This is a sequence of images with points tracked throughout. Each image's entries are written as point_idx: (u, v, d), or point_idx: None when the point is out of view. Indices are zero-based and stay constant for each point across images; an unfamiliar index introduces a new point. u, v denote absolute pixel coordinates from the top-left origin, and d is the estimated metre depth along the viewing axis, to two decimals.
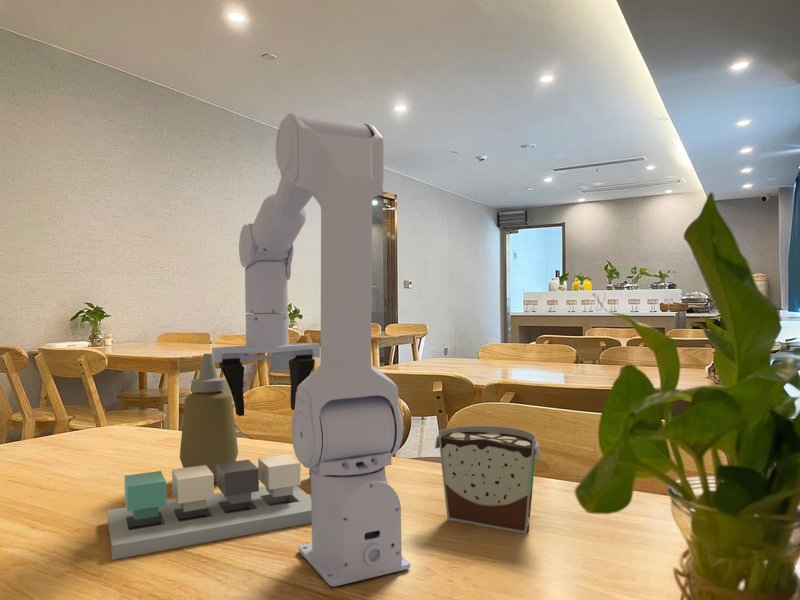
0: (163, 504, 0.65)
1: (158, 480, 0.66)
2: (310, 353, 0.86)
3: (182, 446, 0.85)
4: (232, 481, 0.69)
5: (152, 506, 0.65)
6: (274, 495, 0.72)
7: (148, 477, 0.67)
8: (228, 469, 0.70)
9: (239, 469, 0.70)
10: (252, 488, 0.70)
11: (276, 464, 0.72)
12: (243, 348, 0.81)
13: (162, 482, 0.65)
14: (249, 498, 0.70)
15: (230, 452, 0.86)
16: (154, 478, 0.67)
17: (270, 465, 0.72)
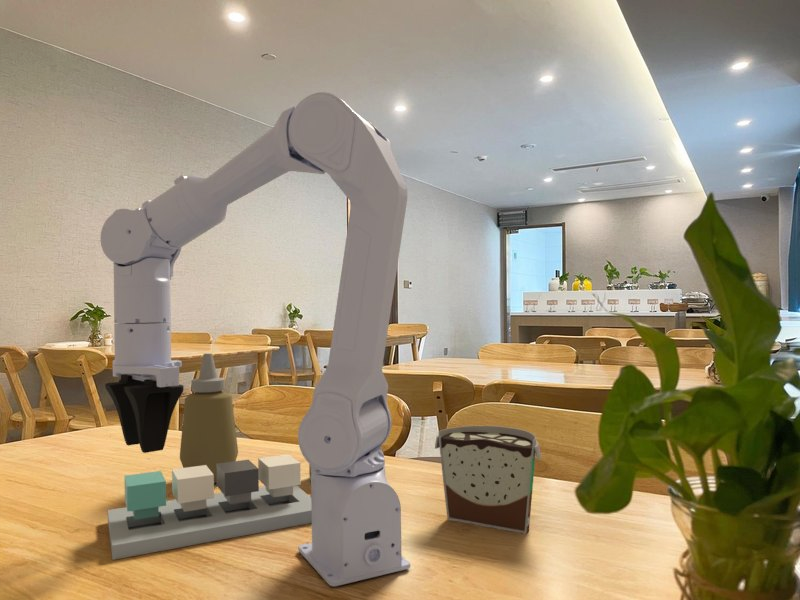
0: (163, 504, 0.65)
1: (158, 480, 0.66)
2: None
3: (182, 446, 0.85)
4: (232, 481, 0.69)
5: (152, 506, 0.65)
6: (274, 495, 0.72)
7: (148, 477, 0.67)
8: (228, 469, 0.70)
9: (239, 469, 0.70)
10: (252, 488, 0.70)
11: (276, 464, 0.72)
12: None
13: (162, 482, 0.65)
14: (249, 498, 0.70)
15: (230, 452, 0.86)
16: (154, 478, 0.67)
17: (270, 465, 0.72)
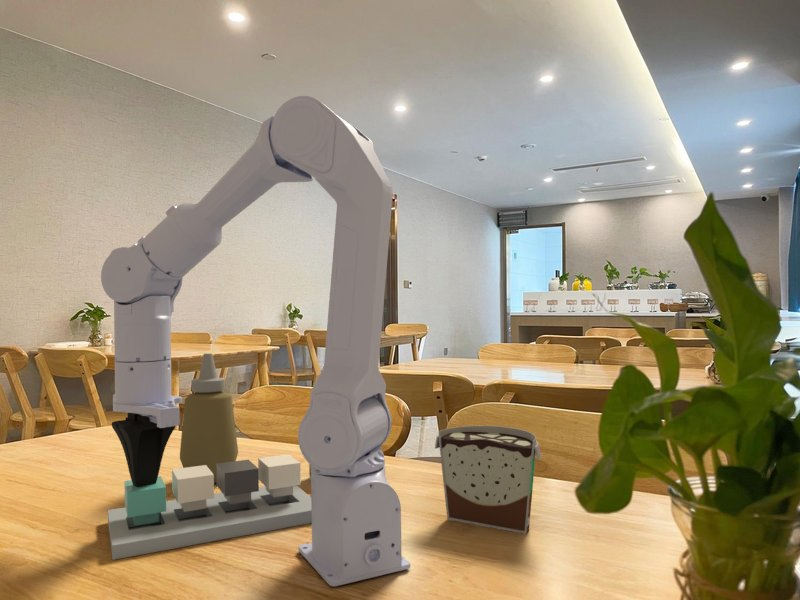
0: (163, 510, 0.65)
1: (158, 486, 0.66)
2: None
3: (182, 446, 0.85)
4: (232, 481, 0.69)
5: (152, 512, 0.65)
6: (274, 495, 0.72)
7: None
8: (228, 469, 0.70)
9: (239, 469, 0.70)
10: (252, 488, 0.70)
11: (276, 464, 0.72)
12: (114, 400, 0.68)
13: (162, 488, 0.65)
14: (249, 498, 0.70)
15: (230, 452, 0.86)
16: (154, 484, 0.67)
17: (270, 465, 0.72)
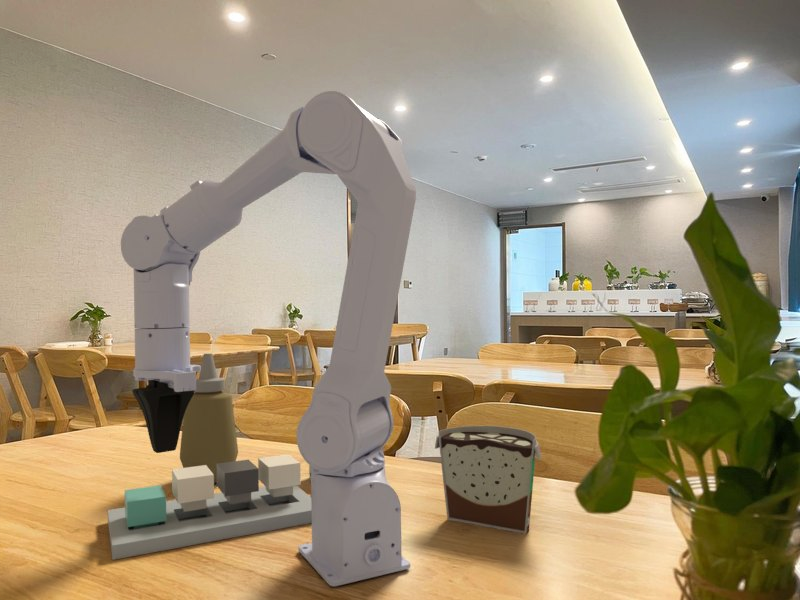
0: (163, 519, 0.65)
1: (158, 495, 0.66)
2: None
3: (182, 446, 0.85)
4: (232, 481, 0.69)
5: (152, 521, 0.65)
6: (274, 495, 0.72)
7: (148, 492, 0.67)
8: (228, 469, 0.70)
9: (239, 469, 0.70)
10: (252, 488, 0.70)
11: (276, 464, 0.72)
12: None
13: (162, 497, 0.65)
14: (249, 498, 0.70)
15: (230, 452, 0.86)
16: (154, 493, 0.67)
17: (270, 465, 0.72)
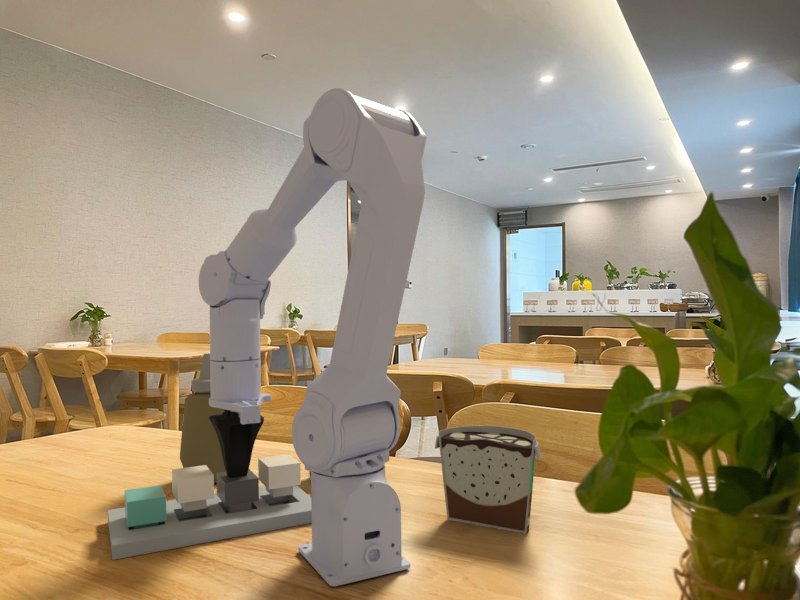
0: (163, 519, 0.65)
1: (158, 495, 0.66)
2: None
3: (182, 446, 0.85)
4: (232, 491, 0.69)
5: (152, 521, 0.65)
6: (274, 495, 0.72)
7: (148, 492, 0.67)
8: (228, 479, 0.70)
9: (239, 479, 0.70)
10: (252, 498, 0.70)
11: (276, 464, 0.72)
12: None
13: (162, 497, 0.65)
14: (249, 508, 0.70)
15: None
16: (154, 493, 0.67)
17: (270, 465, 0.72)
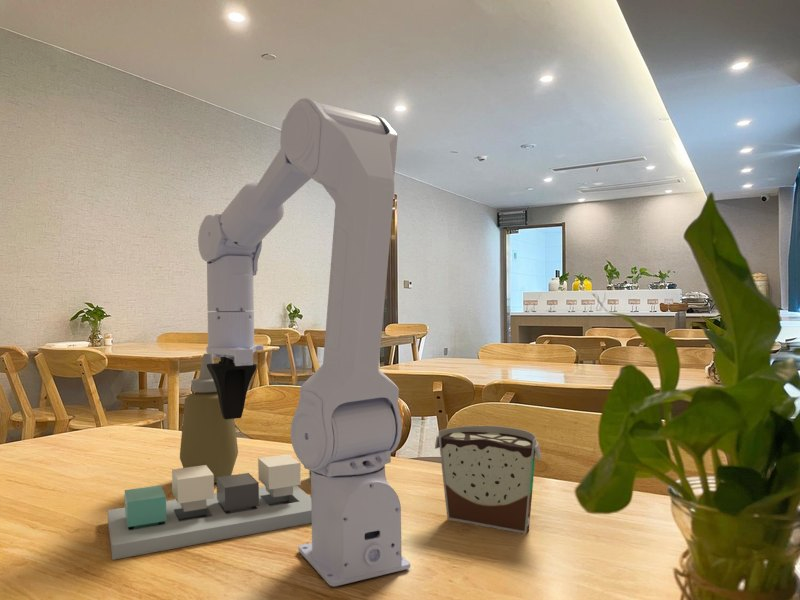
0: (163, 519, 0.65)
1: (158, 495, 0.66)
2: None
3: (182, 446, 0.85)
4: (232, 496, 0.69)
5: (152, 521, 0.65)
6: (274, 495, 0.72)
7: (148, 492, 0.67)
8: (228, 483, 0.70)
9: (239, 483, 0.70)
10: (252, 502, 0.70)
11: (276, 464, 0.72)
12: None
13: (162, 497, 0.65)
14: None
15: (230, 452, 0.86)
16: (154, 493, 0.67)
17: (270, 465, 0.72)
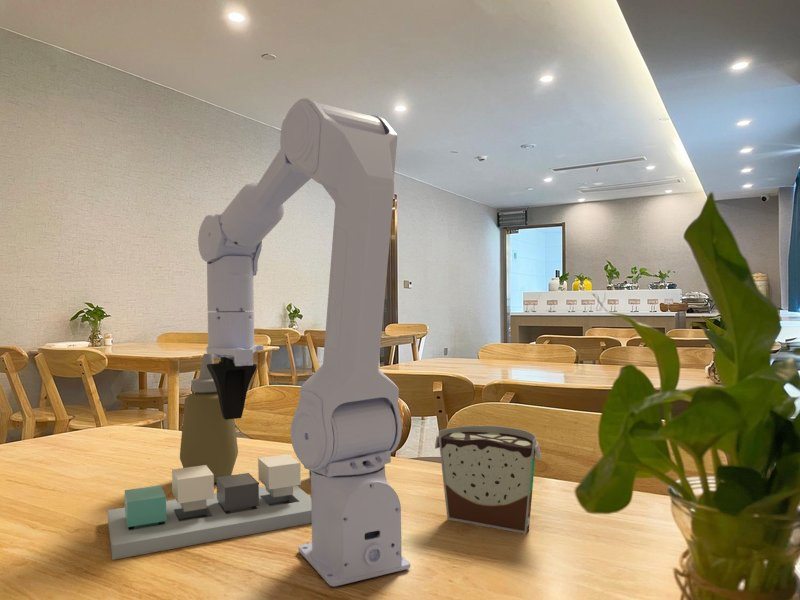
0: (163, 519, 0.65)
1: (158, 495, 0.66)
2: None
3: (182, 446, 0.85)
4: (232, 496, 0.69)
5: (152, 521, 0.65)
6: (274, 495, 0.72)
7: (148, 492, 0.67)
8: (228, 483, 0.70)
9: (239, 483, 0.70)
10: (252, 502, 0.70)
11: (276, 464, 0.72)
12: None
13: (162, 497, 0.65)
14: None
15: (230, 452, 0.86)
16: (154, 493, 0.67)
17: (270, 465, 0.72)
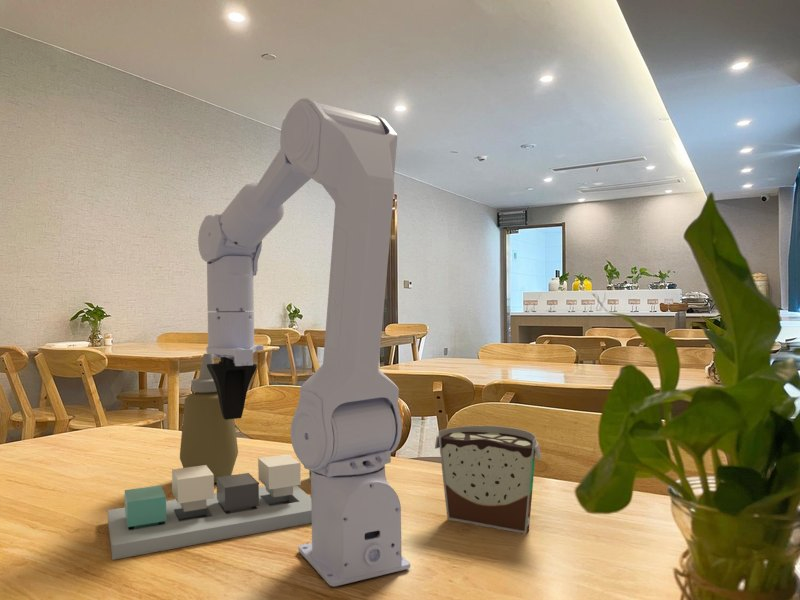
0: (163, 519, 0.65)
1: (158, 495, 0.66)
2: None
3: (182, 446, 0.85)
4: (232, 496, 0.69)
5: (152, 521, 0.65)
6: (274, 495, 0.72)
7: (148, 492, 0.67)
8: (228, 483, 0.70)
9: (239, 483, 0.70)
10: (252, 502, 0.70)
11: (276, 464, 0.72)
12: None
13: (162, 497, 0.65)
14: None
15: (230, 452, 0.86)
16: (154, 493, 0.67)
17: (270, 465, 0.72)
